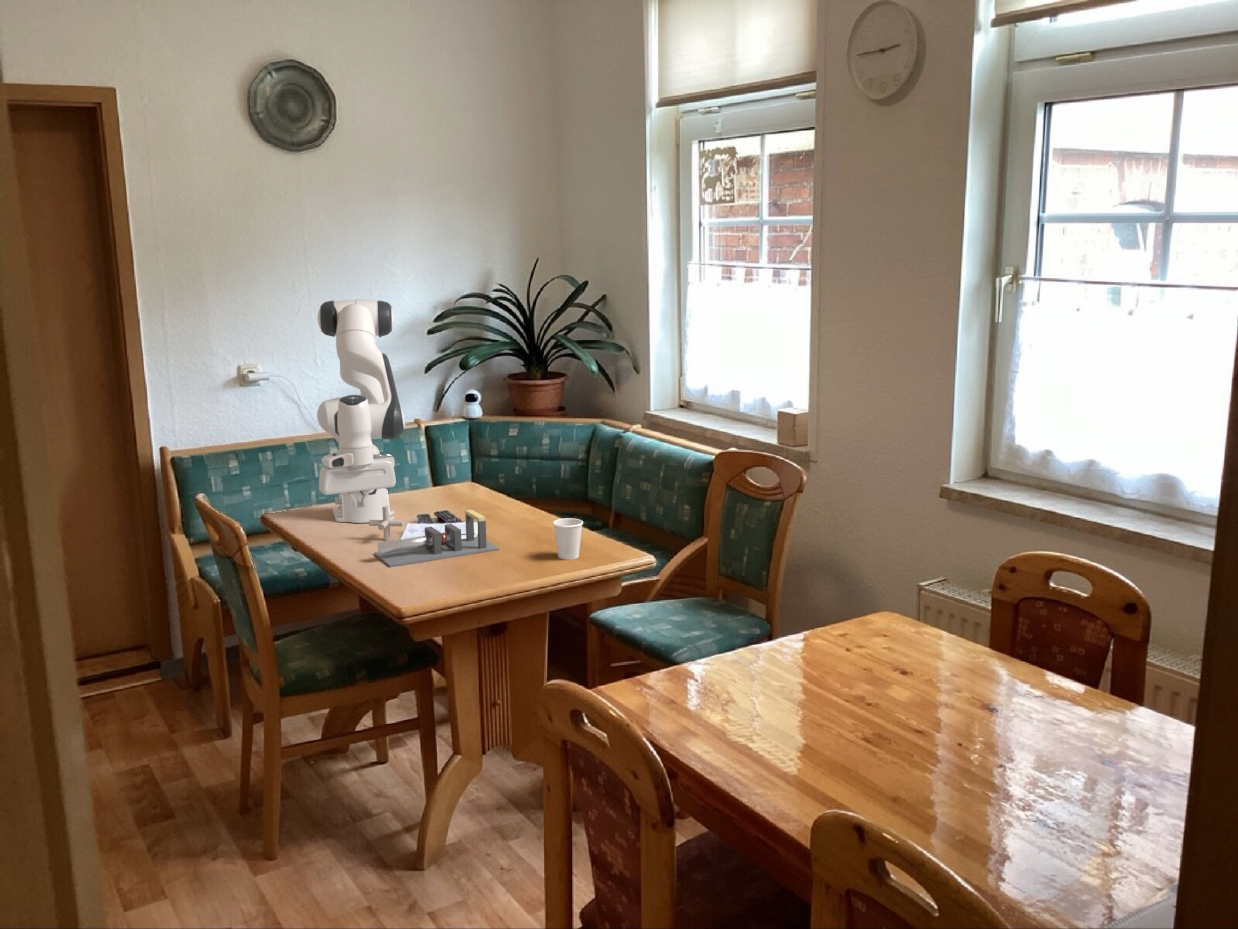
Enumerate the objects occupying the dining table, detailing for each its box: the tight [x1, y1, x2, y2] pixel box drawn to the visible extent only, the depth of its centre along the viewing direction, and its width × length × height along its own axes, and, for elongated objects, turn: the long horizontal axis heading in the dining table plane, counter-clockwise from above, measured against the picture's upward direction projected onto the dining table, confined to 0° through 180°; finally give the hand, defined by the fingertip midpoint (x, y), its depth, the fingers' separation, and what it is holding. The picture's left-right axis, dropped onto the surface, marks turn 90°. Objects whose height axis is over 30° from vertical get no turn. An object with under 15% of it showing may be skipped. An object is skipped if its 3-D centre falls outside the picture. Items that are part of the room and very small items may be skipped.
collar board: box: [373, 509, 500, 568], centre depth 302 cm, size 14×32×10 cm, turn 120°
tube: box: [377, 532, 450, 554], centre depth 299 cm, size 4×20×4 cm, turn 120°
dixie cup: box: [552, 517, 584, 561], centre depth 297 cm, size 8×8×10 cm
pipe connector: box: [368, 505, 405, 541], centre depth 315 cm, size 10×10×10 cm
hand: (359, 507), depth 289 cm, fingers closed
